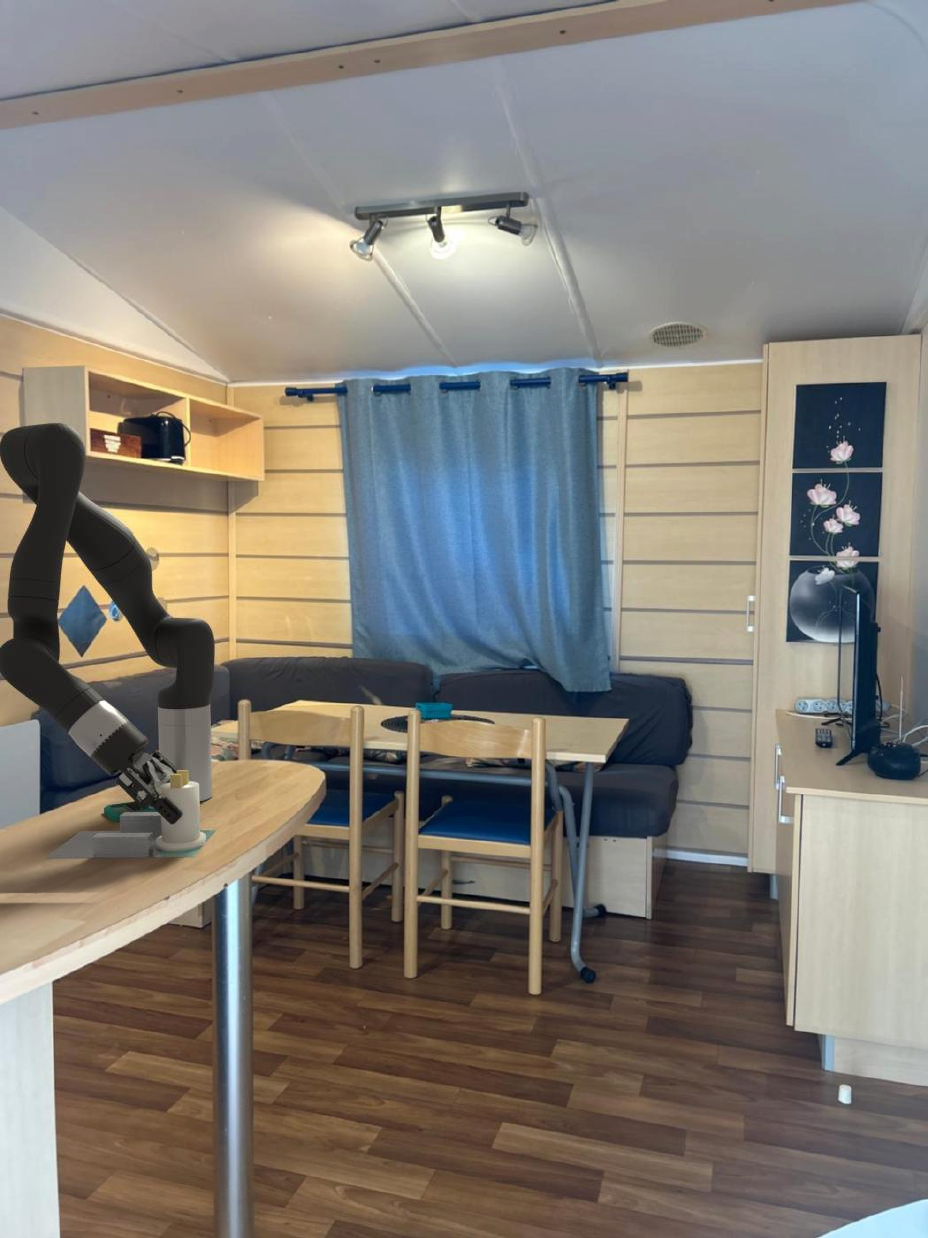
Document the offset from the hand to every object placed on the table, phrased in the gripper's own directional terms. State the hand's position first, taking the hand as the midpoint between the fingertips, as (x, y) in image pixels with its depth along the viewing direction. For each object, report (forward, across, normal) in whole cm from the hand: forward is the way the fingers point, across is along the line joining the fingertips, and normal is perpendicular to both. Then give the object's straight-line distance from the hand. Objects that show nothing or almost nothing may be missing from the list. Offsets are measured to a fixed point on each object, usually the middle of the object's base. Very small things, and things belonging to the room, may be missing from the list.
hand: (186, 812), depth 139 cm
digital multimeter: (-4, +19, +13) cm, 23 cm away
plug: (+3, 0, +4) cm, 5 cm away
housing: (-1, 0, +10) cm, 10 cm away
